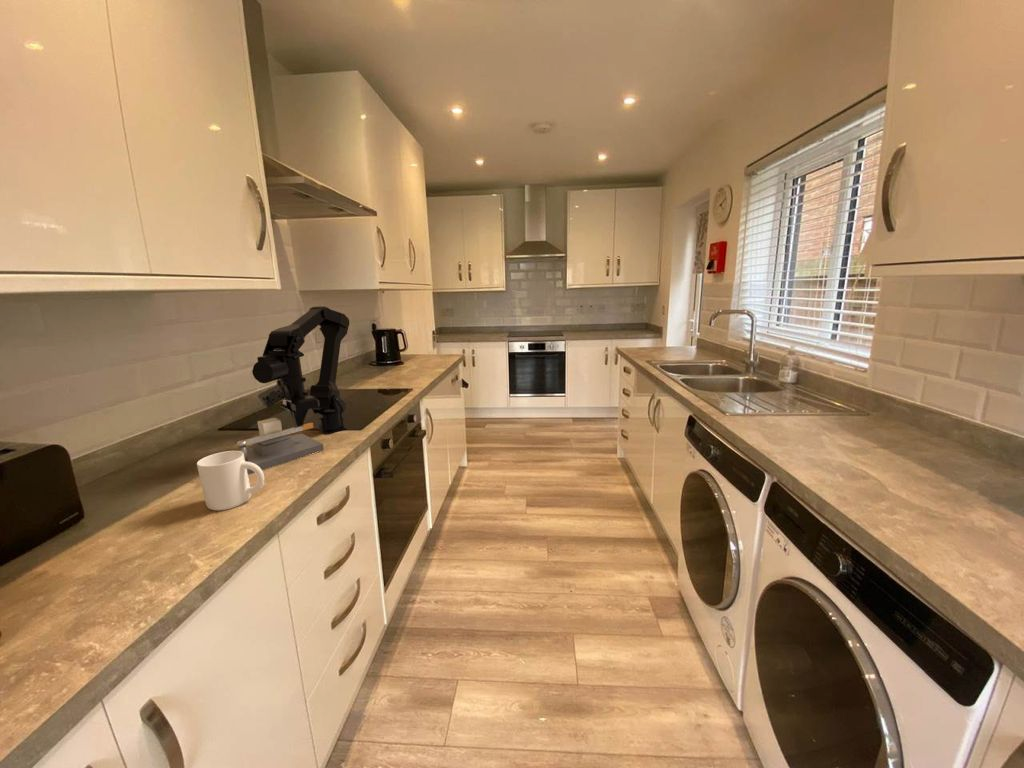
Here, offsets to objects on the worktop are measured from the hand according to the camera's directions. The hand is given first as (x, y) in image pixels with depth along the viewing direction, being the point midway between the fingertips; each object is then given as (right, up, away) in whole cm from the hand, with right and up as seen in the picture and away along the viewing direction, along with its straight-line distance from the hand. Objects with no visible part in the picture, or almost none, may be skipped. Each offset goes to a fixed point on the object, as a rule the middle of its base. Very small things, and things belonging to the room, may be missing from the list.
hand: (299, 427), depth 117 cm
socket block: (-5, -7, -3) cm, 9 cm away
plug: (-6, -5, -3) cm, 8 cm away
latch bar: (-3, -2, -6) cm, 7 cm away
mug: (+1, -13, -28) cm, 31 cm away
